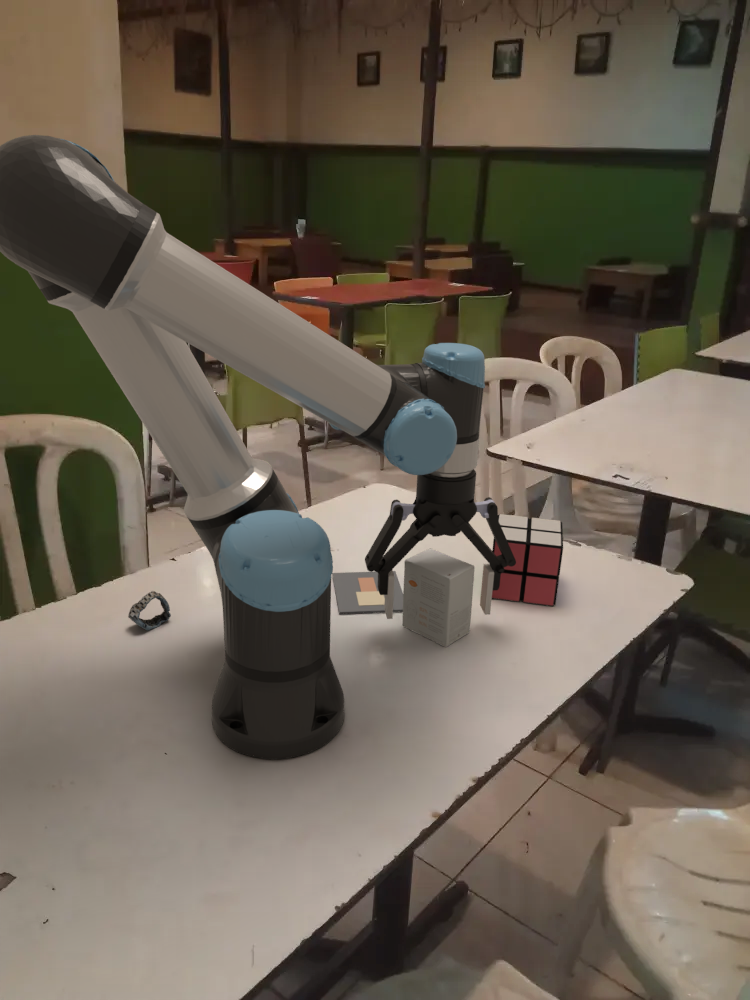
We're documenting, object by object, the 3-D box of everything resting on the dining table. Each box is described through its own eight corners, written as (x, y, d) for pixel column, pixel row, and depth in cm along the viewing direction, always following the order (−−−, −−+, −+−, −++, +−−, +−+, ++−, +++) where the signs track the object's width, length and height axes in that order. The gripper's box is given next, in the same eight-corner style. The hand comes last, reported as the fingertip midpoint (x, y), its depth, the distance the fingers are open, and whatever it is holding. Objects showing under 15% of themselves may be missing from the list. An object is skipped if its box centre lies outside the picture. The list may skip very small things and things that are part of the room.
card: (339, 614, 112) (339, 611, 112) (332, 575, 123) (332, 572, 123) (408, 611, 113) (408, 608, 113) (395, 573, 124) (395, 570, 124)
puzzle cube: (555, 607, 116) (563, 547, 112) (487, 599, 118) (493, 539, 114) (554, 577, 125) (562, 519, 121) (491, 569, 127) (497, 512, 123)
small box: (470, 633, 109) (476, 565, 105) (445, 648, 105) (451, 579, 101) (426, 611, 114) (430, 546, 110) (400, 626, 110) (404, 558, 106)
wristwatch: (148, 628, 109) (123, 613, 106) (173, 601, 110) (149, 585, 106) (156, 640, 107) (131, 626, 104) (182, 612, 108) (158, 596, 104)
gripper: (531, 456, 105) (516, 594, 113) (347, 458, 102) (344, 601, 110) (550, 475, 98) (532, 622, 106) (353, 479, 95) (349, 630, 103)
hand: (437, 611), depth 108 cm, fingers open, 13 cm apart
